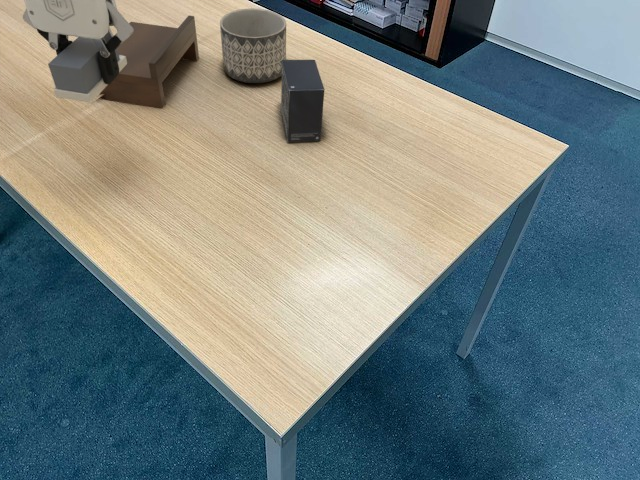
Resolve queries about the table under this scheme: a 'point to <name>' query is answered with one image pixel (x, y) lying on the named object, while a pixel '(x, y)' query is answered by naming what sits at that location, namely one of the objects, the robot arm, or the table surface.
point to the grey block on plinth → (80, 71)
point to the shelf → (151, 62)
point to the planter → (253, 45)
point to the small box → (301, 100)
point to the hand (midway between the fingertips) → (92, 75)
